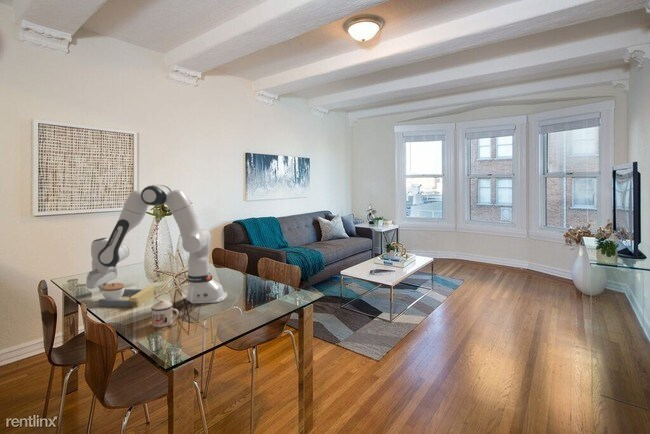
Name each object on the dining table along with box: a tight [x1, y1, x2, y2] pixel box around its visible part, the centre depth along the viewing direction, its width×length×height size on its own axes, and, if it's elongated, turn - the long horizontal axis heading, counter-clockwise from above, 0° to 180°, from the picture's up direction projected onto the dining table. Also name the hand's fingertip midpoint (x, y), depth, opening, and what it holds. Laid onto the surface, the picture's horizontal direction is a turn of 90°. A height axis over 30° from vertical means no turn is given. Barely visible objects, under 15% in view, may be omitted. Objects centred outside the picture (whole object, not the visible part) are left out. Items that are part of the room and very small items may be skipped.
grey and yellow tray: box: [98, 285, 156, 308], centre depth 187 cm, size 21×18×5 cm
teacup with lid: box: [150, 299, 180, 328], centre depth 159 cm, size 12×9×12 cm
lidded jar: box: [101, 282, 125, 300], centre depth 187 cm, size 11×11×9 cm
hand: (103, 291), depth 188 cm, fingers closed, pressing on lidded jar
